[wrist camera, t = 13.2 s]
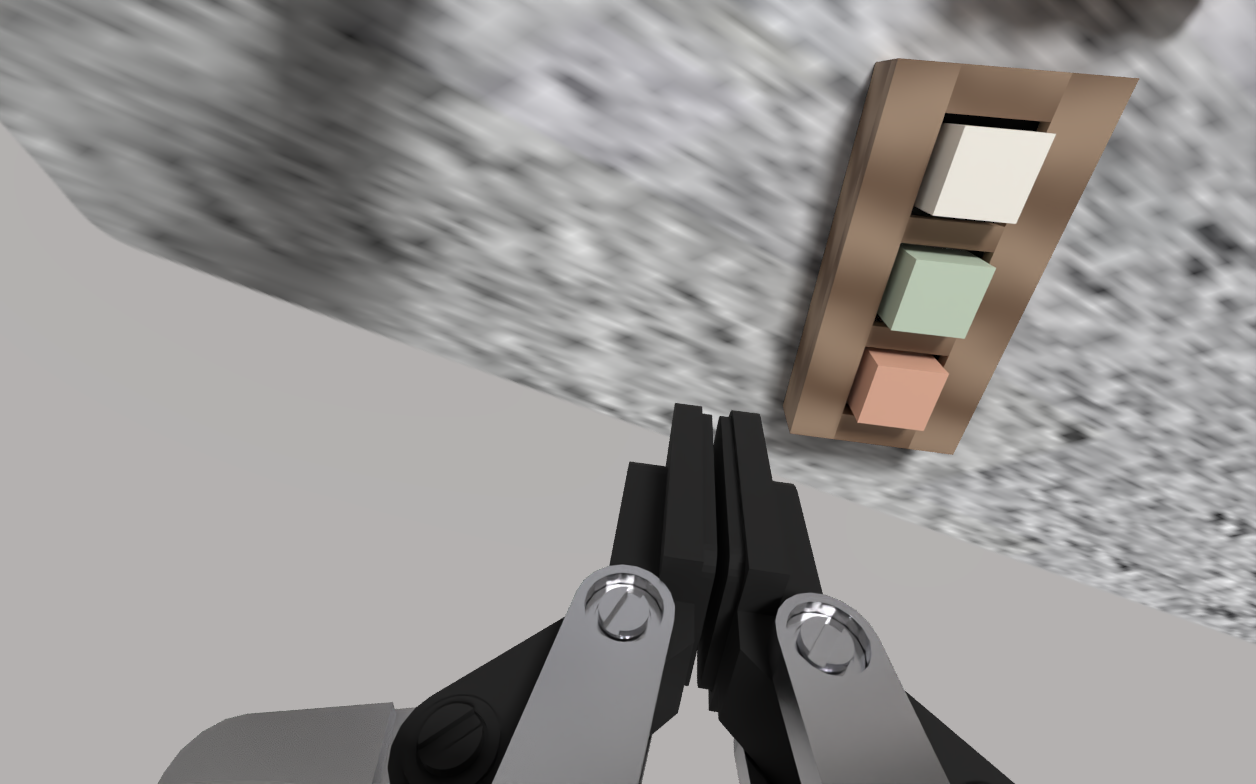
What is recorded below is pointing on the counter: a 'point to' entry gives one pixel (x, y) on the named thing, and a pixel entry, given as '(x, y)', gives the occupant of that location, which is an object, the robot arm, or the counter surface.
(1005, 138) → the cream cube
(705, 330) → the counter surface
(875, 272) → the wooden compartment tray
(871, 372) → the terracotta key
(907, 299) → the sage key
